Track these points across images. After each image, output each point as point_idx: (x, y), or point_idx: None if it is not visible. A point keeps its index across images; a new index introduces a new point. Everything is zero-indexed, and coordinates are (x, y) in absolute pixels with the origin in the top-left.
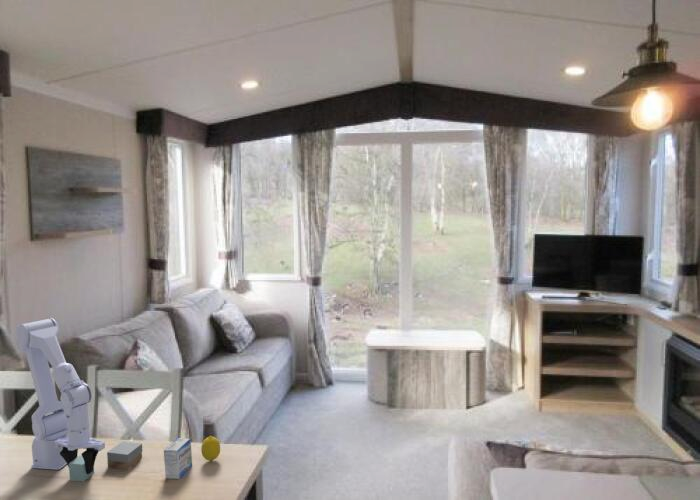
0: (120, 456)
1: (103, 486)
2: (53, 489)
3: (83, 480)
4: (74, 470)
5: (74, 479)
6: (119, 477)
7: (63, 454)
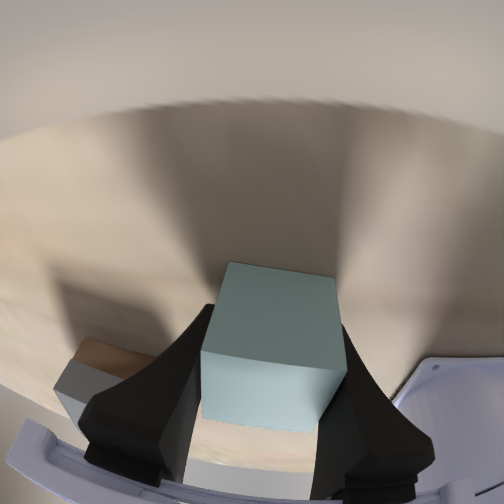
0: (93, 393)
1: (81, 203)
2: (398, 174)
3: (234, 265)
4: (296, 321)
5: (301, 276)
6: (71, 282)
7: (398, 447)
